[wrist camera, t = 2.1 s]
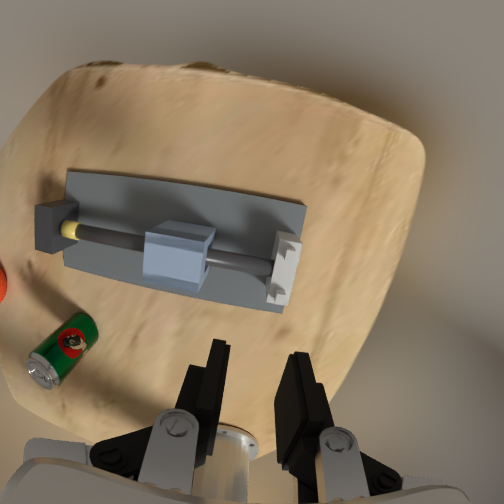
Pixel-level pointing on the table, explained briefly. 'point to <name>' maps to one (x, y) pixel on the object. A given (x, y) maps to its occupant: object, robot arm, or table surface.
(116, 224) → the linear slide rail
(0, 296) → the clementine
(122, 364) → the table surface
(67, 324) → the soda can
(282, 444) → the robot arm
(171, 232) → the sleeve
